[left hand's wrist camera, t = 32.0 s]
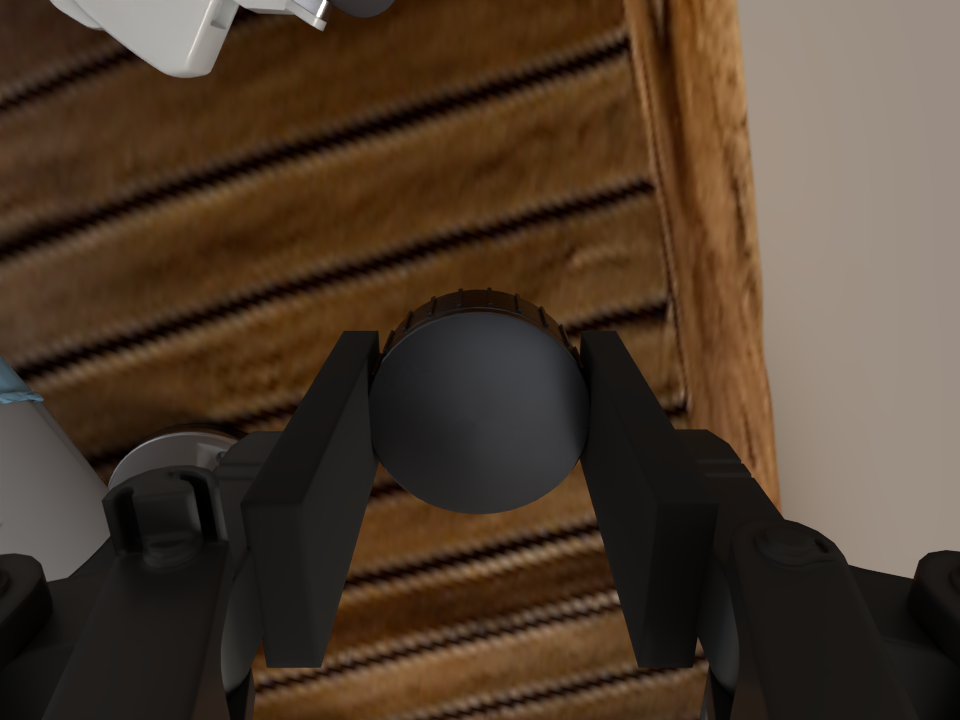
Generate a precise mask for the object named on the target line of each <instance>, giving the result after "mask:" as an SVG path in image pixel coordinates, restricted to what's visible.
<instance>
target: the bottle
mask: <svg viewBox="0 0 960 720" xmlns="http://www.w3.org/2000/svg"><path fill="white" fill-rule="evenodd" d="M328 1H329V2H331V3H332V4H333V5H335V7H337V8H338V9H340V10H342V11H343V12H345V13H347V14H349V15H352V16H355V17H372V16H375V15H378V14H380V13H382V12H383V11H385V10H386V9H387V8H389V7H390V6H391V4H392V3H393V2H394V1H395V0H328Z"/></svg>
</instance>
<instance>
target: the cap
mask: <svg viewBox="0 0 960 720" xmlns="http://www.w3.org/2000/svg"><path fill="white" fill-rule="evenodd" d="M583 370H585V368H584V366H583V363H582V361H581V358H580V356H579V353H578V351H577V348H576V347H573V346H572V345H571V343H570V341H569V339H568V337H567V334H566V332H565V329H564V327H563V325H562V324H561V325H560V326H559V325H558V324H557V323H556V322H555V321H554V320H553V319H552V317H550V316H549V315H548V314H547V313H545V310H544V308H543V307H542V306H541V307H540V308H539V307H537V306H535V305H534V304H532V303H530V302H529V301H526V300H524V299H522V298H520V296H519V294H515V296H514V295H511V294H507V293H504V292H498V291H492V289H491V288H487V290H467V291H463V289H459V291H458V292H455V293H450V294H447V295H444V296H441V297H438V298H436V297H435V296H434V297H432V298H431V301H430V302H428V303H426V304H424V305H422V306H421V307H419V308H418V309H416V310H415V311H414V312H412V311H409V312H408V314H407V317H406V319H405V320H403V321H402V322H401V324H400V325H399V326H398V327H397V329H396V330H395V331H393V330H391V332H390V334H389V336H388V339H387V342H386V344H385V347H384V349H383V354H381V353H379V356H378V358H377V361H376V363H375V366H374V368H373V371H372V373H371V376H370V377H373V379H372V381H371V384H370V388H369V392H368V404H369V418H370V432H371V443H372V446H373V449H374V451H375V453H376V455H377V457H378V459H379V461H380V462H381V464H382V465H383V466H384V468H385V469H386V471H387V472H388V473H389V474H390V475H391V477H392V478H393V479H394V480H395V481H396V482H397V483H398V484H399V485H401V486H402V487H403V488H404V489H405V490H407V491H408V492H410V493H411V494H412V495H414V496H415V497H417V498H419V499H421V500H423V501H425V502H427V503H429V504H431V505H434V506H436V507H439V508H442V509H446V510H450V511H454V512H459V513H467V514H490V513H499V512H504V511H509V510H512V509H516V508H519V507H522V506H524V505H527V504H529V503H531V502H533V501H536V500H537V499H539V498H541V497H542V496H544V495H546V494H547V493H549V492H550V491H551V490H552V489H554V488H555V487H556V486H558V485H559V484H560V483H561V482H562V481H563V480H564V479H565V478H566V477H567V476H568V474H569V473H570V472H571V470H572V469H573V468H574V467H575V465H576V463H577V462H578V460H579V458H580V457H581V455H582V453H583V450H584V448H585V446H586V443H587V440H588V436H589V425H590V411H591V398H590V393H589V388H588V386H587V383H586V380H585V377H584V374H583V372H582V371H583Z"/></svg>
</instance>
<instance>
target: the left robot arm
mask: <svg viewBox="0 0 960 720" xmlns="http://www.w3.org/2000/svg"><path fill="white" fill-rule="evenodd" d="M379 353H380V350H379V334H378V331H344V332H343V333H342V335H341V337H340V338H339V340H338V342H337V343H336V345H335V347H334V348H333V350H332V352H331V353H330V355H329V357H328V358H327V360H326V362H325V363H324V365H323V367H322V368H321V370H320V371H319V373H318V375H317V376H316V378H315V380H314V381H313V383H312V385H311V386H310V388H309V390H308V391H307V393H306V395H305V396H304V398H303V400H302V401H301V403H300V405H299V406H298V408H297V410H296V411H295V413H294V415H293V416H292V418H291V420H290V421H289V423H288V425H287V426H286V428H285V430H284V431H283V432H252V433H250V434H249V435H246V434H244V433H242V432H239V431H236V430H233V429H230V428H226V427H222V426H217V425H211V424H183V425H178V426H173V427H169V428H166V429H163V430H161V431H158V432H156V433H154V434H152V435H150V436H149V437H147V438H146V439H144V440H143V441H142V442H140V443H139V444H138V445H137V446H136V447H135V448H134V449H133V450H132V451H131V452H130V453H129V454H128V455H127V456H126V457H125V458H124V459H123V460H122V461H121V462H120V463H119V465H118V466H117V468H116V469H115V471H114V473H113V475H112V476H111V479H110V482H109V485H108V488H107V487H106V485H105V484H104V483H103V481H102V480H101V479H100V478H99V476H98V475H97V474H96V472H95V471H94V470H93V468H92V467H91V466H90V464H89V463H88V462H87V460H86V459H85V458H84V457H83V455H82V454H81V453H80V451H79V450H78V449H77V447H76V446H75V445H74V443H73V442H72V441H71V439H70V438H69V437H68V436H67V434H66V433H65V432H64V430H63V429H62V428H61V426H60V425H59V424H58V422H57V421H56V420H55V418H54V417H53V416H52V414H51V413H50V412H49V411H48V409H47V408H46V407H45V405H44V404H43V403H42V402H43V401H44V399H43V397H42V396H41V395H40V394H38V393H36V392H33V391H32V390H31V389H30V388H29V387H28V386H27V385H26V384H25V383H24V382H23V380H22V379H21V378H20V377H19V376H18V375H17V374H16V372H15V371H14V370H13V369H12V368H11V367H10V365H9V364H8V363H7V362H6V361H5V360H4V359H3V357H2V356H1V355H0V720H252V719H253V710H254V701H255V687H254V680H253V674H252V668H251V664H252V662H253V660H254V657H255V655H256V652H257V650H258V647H259V645H260V642H261V640H263V646H264V652H265V658H266V664H267V668H321V666H322V662H323V659H324V655H325V651H326V648H327V644H328V641H329V637H330V634H331V630H332V627H333V623H334V620H335V616H336V612H337V609H338V605H339V602H340V598H341V595H342V591H343V588H344V584H345V581H346V577H347V573H348V570H349V566H350V563H351V559H352V556H353V552H354V549H355V545H356V542H357V538H358V534H359V531H360V527H361V524H362V520H363V517H364V513H365V510H366V506H367V503H368V499H369V495H370V492H371V488H372V485H373V481H374V478H375V474H376V471H377V467H378V464H379V459H378V457H377V455H376V453H375V451H374V449H373V446H372V443H371V432H370V418H369V404H368V392H369V388H370V384H371V381H372V379H373V377H370V376H371V373H372V371H373V368H374V366H375V363H376V361H377V358H378V356H379ZM580 358H581V361H582V363H583V366H584V368H585V370H583V371H582V372H583V374H584V377H585V380H586V383H587V386H588V388H589V393H590V398H591V411H590V425H589V436H588V440H587V443H586V446H585V448H584V450H583V453H582V455H581V457H580V461H581V465H582V469H583V472H584V476H585V479H586V483H587V486H588V490H589V493H590V497H591V500H592V504H593V508H594V511H595V515H596V518H597V522H598V525H599V529H600V532H601V536H602V539H603V543H604V547H605V550H606V554H607V557H608V561H609V564H610V568H611V571H612V575H613V578H614V582H615V586H616V589H617V593H618V596H619V600H620V603H621V607H622V610H623V614H624V617H625V621H626V625H627V628H628V632H629V635H630V639H631V642H632V646H633V649H634V653H635V656H636V660H637V664H638V667H639V668H693V662H694V656H695V650H696V644H697V637H698V638H699V640H700V643H701V645H702V648H703V650H704V652H705V655H706V657H707V660H708V662H709V668H708V674H707V680H706V685H705V691H704V697H703V702H702V708H701V714H700V719H699V720H960V552H958V551H949V550H944V551H938V552H931V553H928V554H927V555H926V556H924V557H923V558H922V559H921V560H919V563H918V566H917V569H916V572H915V575H914V579H911V578H906V577H901V576H896V575H891V574H886V573H881V572H876V571H872V570H867V569H863V568H859V567H855V566H851V565H848V563H847V561H846V559H845V557H844V555H843V554H842V553H841V551H840V550H839V549H838V547H837V546H836V545H835V543H834V542H832V541H831V540H829V539H828V538H827V537H825V536H824V535H822V534H821V533H820V532H818V531H816V530H814V529H812V528H809V527H807V526H805V525H802V524H800V523H798V522H793V521H789V520H785V519H784V518H783V517H782V515H781V514H780V513H779V511H778V510H777V509H776V507H775V506H774V504H773V503H772V502H771V500H770V499H769V498H768V496H767V495H766V494H765V492H764V491H763V490H762V488H761V487H760V485H759V484H758V483H757V481H756V480H755V479H754V478H751V473H750V472H749V470H748V469H747V468H746V466H745V465H744V464H741V460H740V458H739V457H738V456H737V454H736V453H735V451H734V450H733V449H732V447H731V446H730V445H729V444H728V443H727V442H725V441H724V440H722V439H721V438H719V437H718V436H716V435H714V434H713V433H711V432H710V431H708V430H675V429H674V427H673V425H672V424H671V422H670V420H669V419H668V417H667V415H666V414H665V412H664V410H663V409H662V407H661V405H660V404H659V402H658V400H657V399H656V397H655V395H654V394H653V392H652V391H651V389H650V387H649V386H648V384H647V382H646V381H645V379H644V377H643V376H642V374H641V372H640V371H639V369H638V367H637V366H636V364H635V362H634V361H633V359H632V357H631V356H630V354H629V352H628V351H627V349H626V347H625V346H624V344H623V342H622V341H621V339H620V337H619V336H618V334H617V332H616V331H581V343H580Z"/></svg>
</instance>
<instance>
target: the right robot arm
mask: <svg viewBox="0 0 960 720" xmlns="http://www.w3.org/2000/svg"><path fill="white" fill-rule="evenodd" d="M50 1H51V2H52V3H53V4H54V5H55V6H56V7H57V8H58V9H59V10H60V11H61V12H63V13H64V14H66V15H68V16H69V17H71V18H72V19H74V20H76V21H77V22H79V23H81V24H82V25H84V26H85V27H87V28H90V29H92V30H96V31H106V32H108V33H109V34H110V35H111V36H113V37H114V38H115V39H116V40H118V41H119V42H120V43H121V44H123V45H124V46H125V47H127V48H128V49H129V50H131V51H132V52H133V53H135V54H136V55H137V56H139V57H140V58H142V59H143V60H145V61H146V62H147V63H149V64H150V65H152V66H153V67H155V68H156V69H158V70H160V71H161V72H163V73H165V74H168V75H171V76H174V77H180V78H192V77H198V76H203V75H206V74H208V73H210V71H211V70H212V68H213V66H214V63H215V61H216V59H217V56H218V54H219V51H220V49H221V47H222V44H223V42H224V40H225V37H226V35H227V33H228V30H229V28H230V26H231V23H232V21H233V19H234V16H235V14H236V12H237V9H238V7H239V5H241V6H243V7H244V8H246V9H249V10H251V11H254V12H256V13H262V14H292V15H294V14H295V15H297V16H298V17H300V18H301V19H303V20H304V21H306V22H307V23H309V24H310V25H312V26H314V27H315V28H317V29H319V30H321V31H323V30H324V28H325V25H326V23H327V21H328V19H329V17H330V15H331V13H332V10H333V8H334V6H335V5H333V4H332V3H331V2H329V1H328V0H50Z"/></svg>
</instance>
